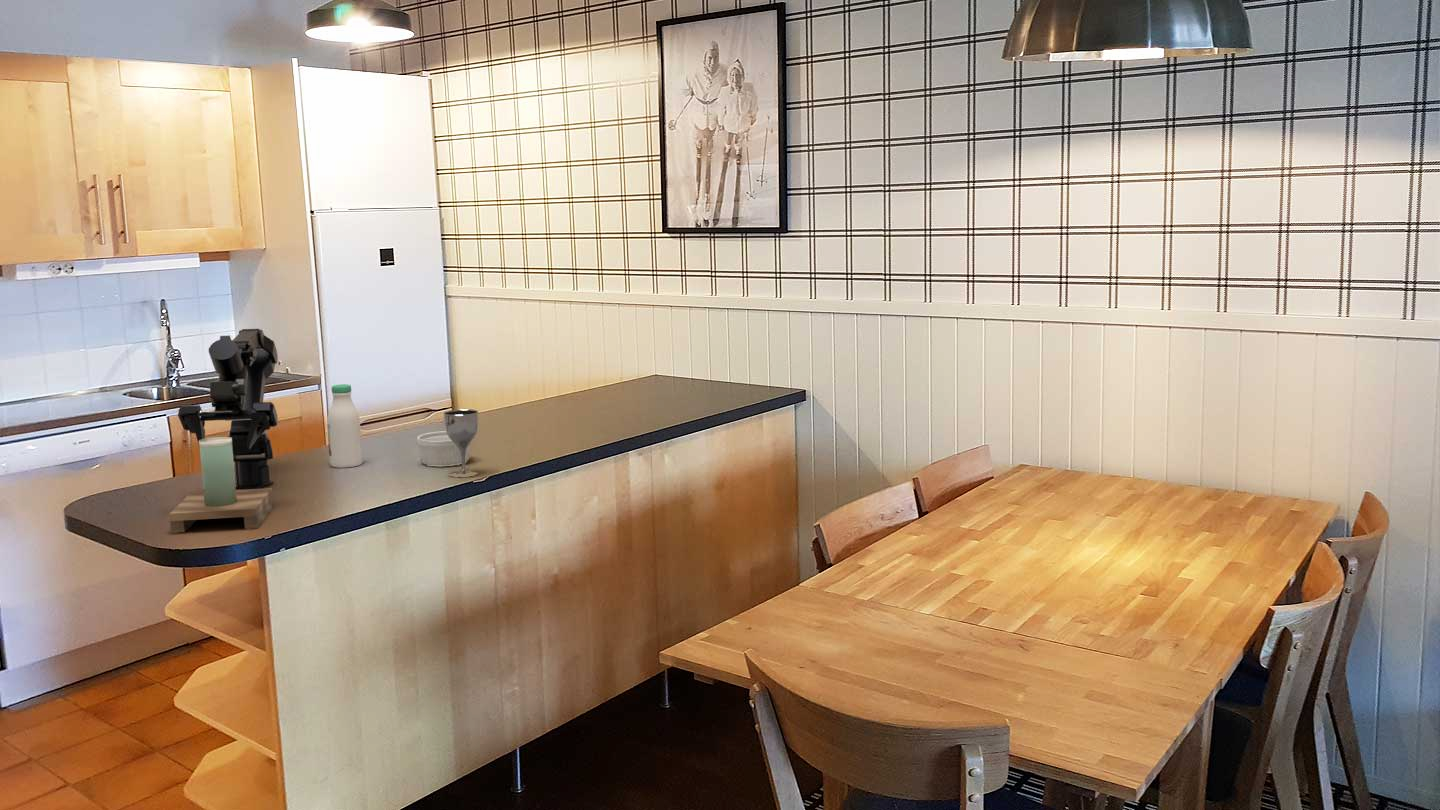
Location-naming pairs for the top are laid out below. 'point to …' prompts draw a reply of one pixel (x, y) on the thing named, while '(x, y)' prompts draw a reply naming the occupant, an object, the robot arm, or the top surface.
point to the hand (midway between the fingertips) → (224, 449)
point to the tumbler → (218, 471)
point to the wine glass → (461, 430)
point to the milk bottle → (344, 429)
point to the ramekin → (439, 449)
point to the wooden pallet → (223, 509)
